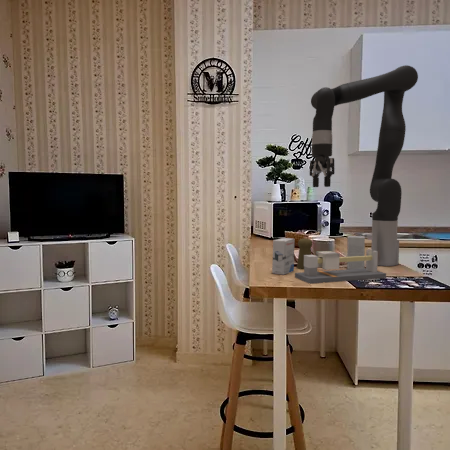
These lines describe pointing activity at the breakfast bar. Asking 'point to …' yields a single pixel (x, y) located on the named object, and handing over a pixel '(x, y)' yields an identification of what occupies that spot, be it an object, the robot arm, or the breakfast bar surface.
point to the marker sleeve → (328, 259)
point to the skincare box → (355, 251)
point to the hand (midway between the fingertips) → (321, 187)
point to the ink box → (283, 256)
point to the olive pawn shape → (303, 251)
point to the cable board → (316, 276)
